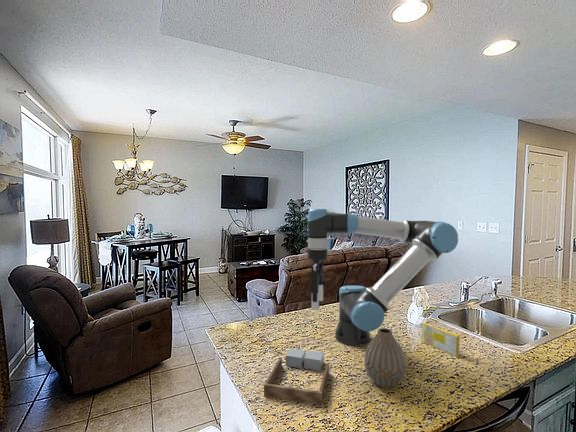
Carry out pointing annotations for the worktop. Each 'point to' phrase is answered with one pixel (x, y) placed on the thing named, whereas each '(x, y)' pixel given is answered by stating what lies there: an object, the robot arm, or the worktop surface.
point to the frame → (292, 392)
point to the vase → (385, 359)
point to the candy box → (440, 339)
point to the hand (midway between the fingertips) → (317, 305)
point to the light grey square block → (314, 360)
